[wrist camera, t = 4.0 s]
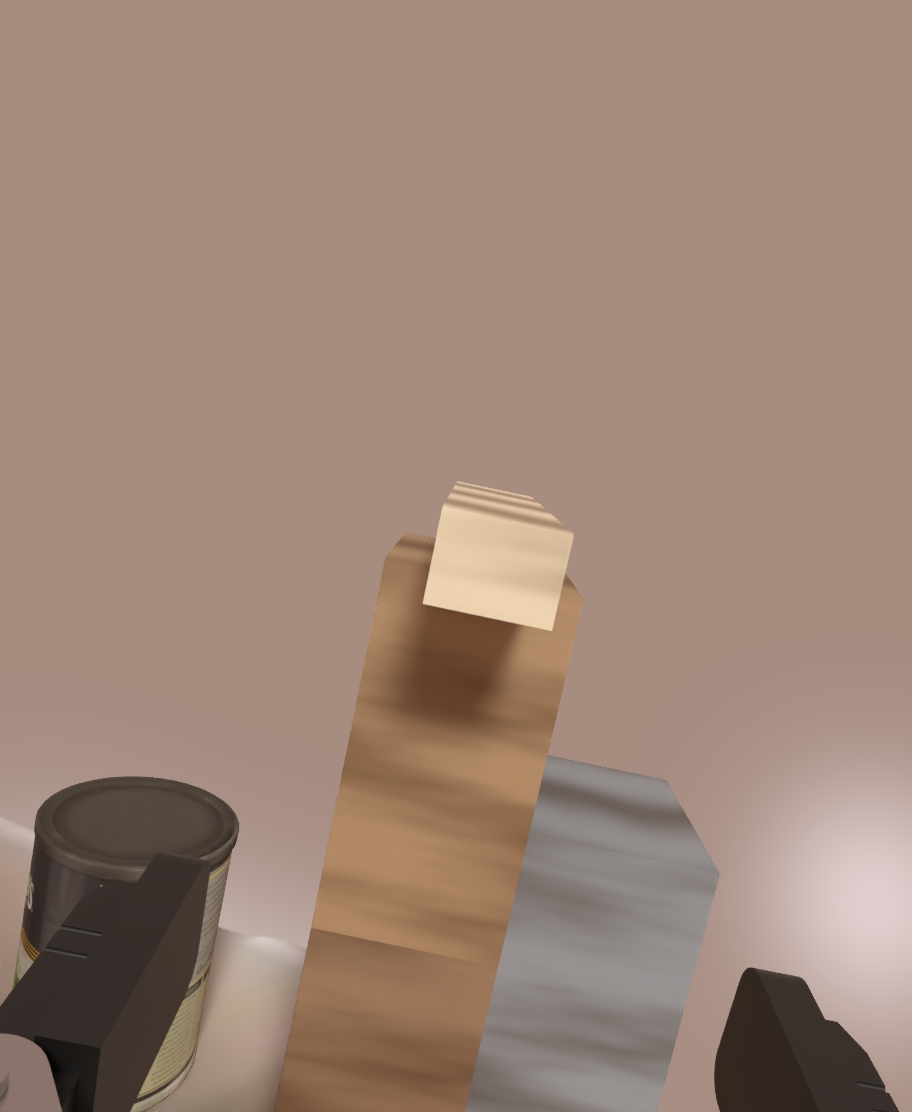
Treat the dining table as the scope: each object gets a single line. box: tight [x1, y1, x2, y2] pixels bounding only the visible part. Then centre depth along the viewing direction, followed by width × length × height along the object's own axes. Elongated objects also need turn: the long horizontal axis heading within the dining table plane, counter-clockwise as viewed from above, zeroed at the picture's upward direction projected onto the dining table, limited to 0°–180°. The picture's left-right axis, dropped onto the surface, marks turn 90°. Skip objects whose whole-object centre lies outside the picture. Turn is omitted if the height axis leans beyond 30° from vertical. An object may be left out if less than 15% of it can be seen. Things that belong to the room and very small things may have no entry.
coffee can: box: [13, 777, 239, 1112], centre depth 47 cm, size 10×10×14 cm
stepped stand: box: [274, 533, 720, 1112], centre depth 41 cm, size 10×16×32 cm, turn 89°
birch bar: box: [423, 482, 574, 631], centre depth 36 cm, size 20×4×3 cm, turn 179°
